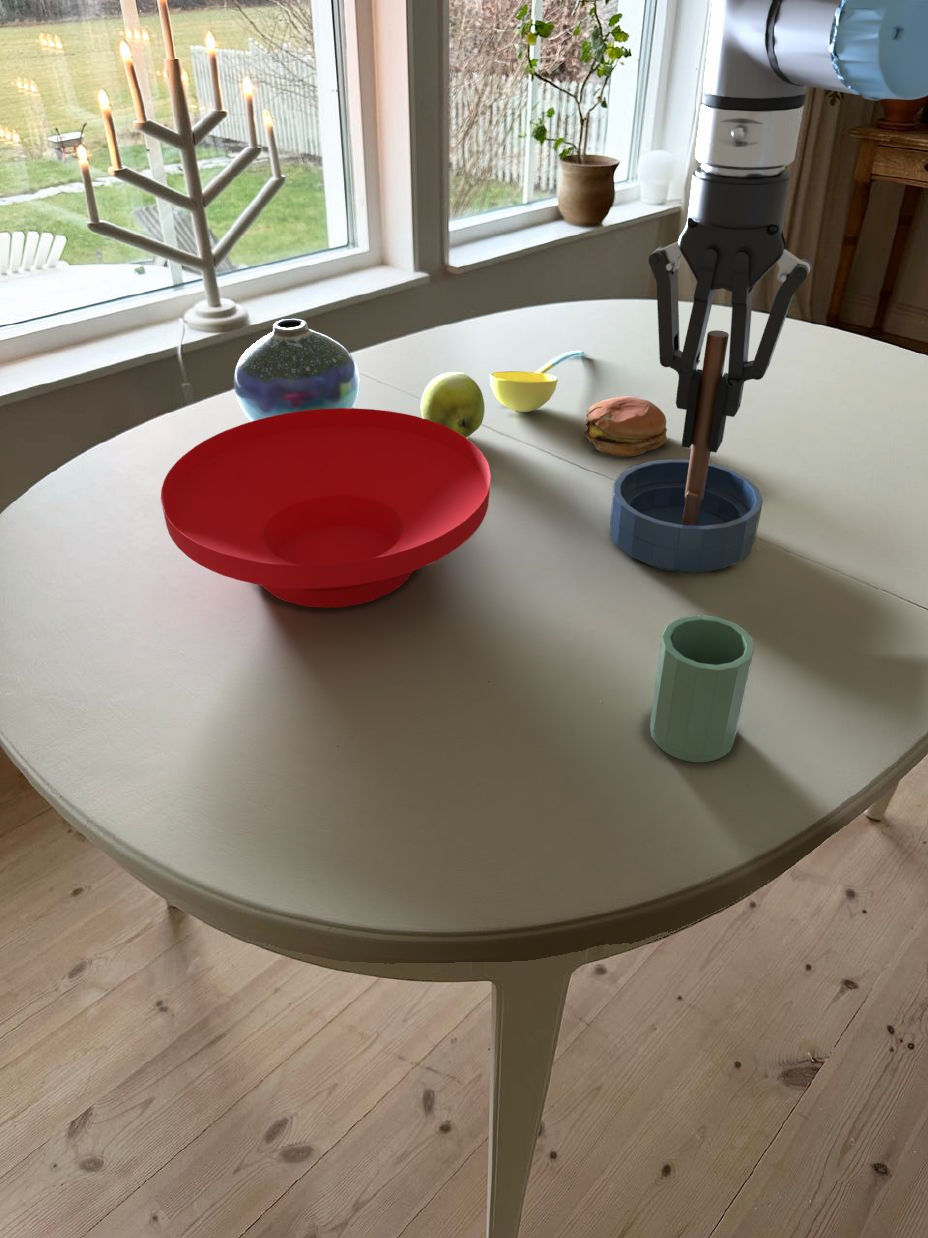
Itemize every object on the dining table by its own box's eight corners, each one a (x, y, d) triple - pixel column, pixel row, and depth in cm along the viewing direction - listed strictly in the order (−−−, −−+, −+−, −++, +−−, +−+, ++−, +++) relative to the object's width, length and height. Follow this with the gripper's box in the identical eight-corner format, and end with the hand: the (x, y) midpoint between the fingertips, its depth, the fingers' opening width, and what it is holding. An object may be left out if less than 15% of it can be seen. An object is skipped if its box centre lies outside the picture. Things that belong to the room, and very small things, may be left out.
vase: (222, 423, 120) (203, 320, 112) (325, 394, 127) (314, 296, 119) (277, 465, 110) (261, 356, 102) (386, 431, 117) (378, 326, 109)
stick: (701, 527, 92) (732, 329, 81) (694, 542, 90) (724, 340, 78) (683, 523, 93) (711, 326, 81) (675, 538, 91) (703, 338, 79)
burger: (675, 434, 115) (679, 398, 112) (648, 464, 108) (652, 427, 106) (601, 419, 119) (604, 384, 116) (571, 447, 112) (573, 411, 110)
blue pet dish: (764, 521, 97) (774, 474, 94) (736, 591, 87) (746, 541, 84) (632, 495, 102) (637, 449, 99) (590, 559, 92) (594, 510, 89)
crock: (742, 718, 73) (762, 627, 67) (724, 773, 68) (744, 679, 63) (662, 696, 75) (675, 606, 70) (639, 748, 70) (652, 655, 65)
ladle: (476, 412, 119) (479, 366, 117) (549, 385, 141) (553, 346, 139) (540, 421, 116) (543, 374, 113) (605, 392, 138) (609, 352, 135)
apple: (471, 418, 120) (471, 358, 115) (494, 447, 113) (495, 384, 108) (413, 426, 118) (410, 366, 113) (433, 456, 111) (431, 393, 106)
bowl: (164, 521, 99) (144, 435, 93) (431, 471, 108) (427, 389, 102) (206, 693, 76) (183, 593, 70) (540, 612, 85) (544, 517, 79)
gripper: (637, 169, 72) (613, 446, 86) (836, 182, 67) (776, 475, 81) (662, 152, 77) (635, 416, 91) (847, 163, 72) (790, 440, 86)
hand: (702, 443), depth 86 cm, fingers closed on stick, 2 cm apart
